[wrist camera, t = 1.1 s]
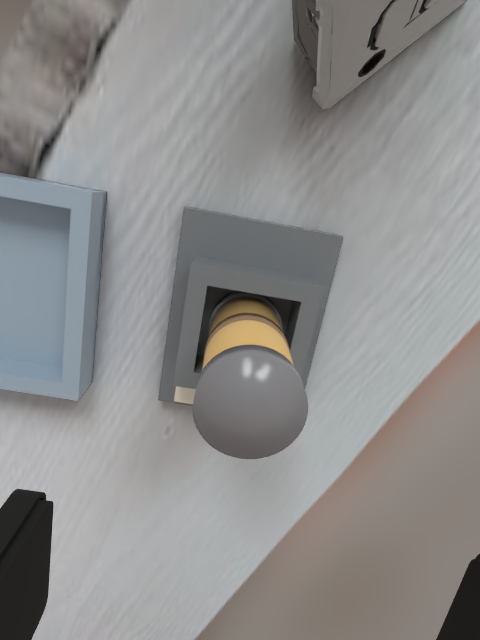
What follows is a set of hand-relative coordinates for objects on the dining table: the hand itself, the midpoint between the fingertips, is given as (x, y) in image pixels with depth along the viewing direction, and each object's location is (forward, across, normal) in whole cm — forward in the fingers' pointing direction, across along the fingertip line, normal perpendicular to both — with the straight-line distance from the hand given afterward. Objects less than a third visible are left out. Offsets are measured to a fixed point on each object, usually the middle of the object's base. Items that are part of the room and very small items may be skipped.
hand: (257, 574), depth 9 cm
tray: (+17, +15, -1) cm, 23 cm away
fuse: (+16, 0, -1) cm, 16 cm away
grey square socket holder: (+17, 0, -1) cm, 17 cm away
